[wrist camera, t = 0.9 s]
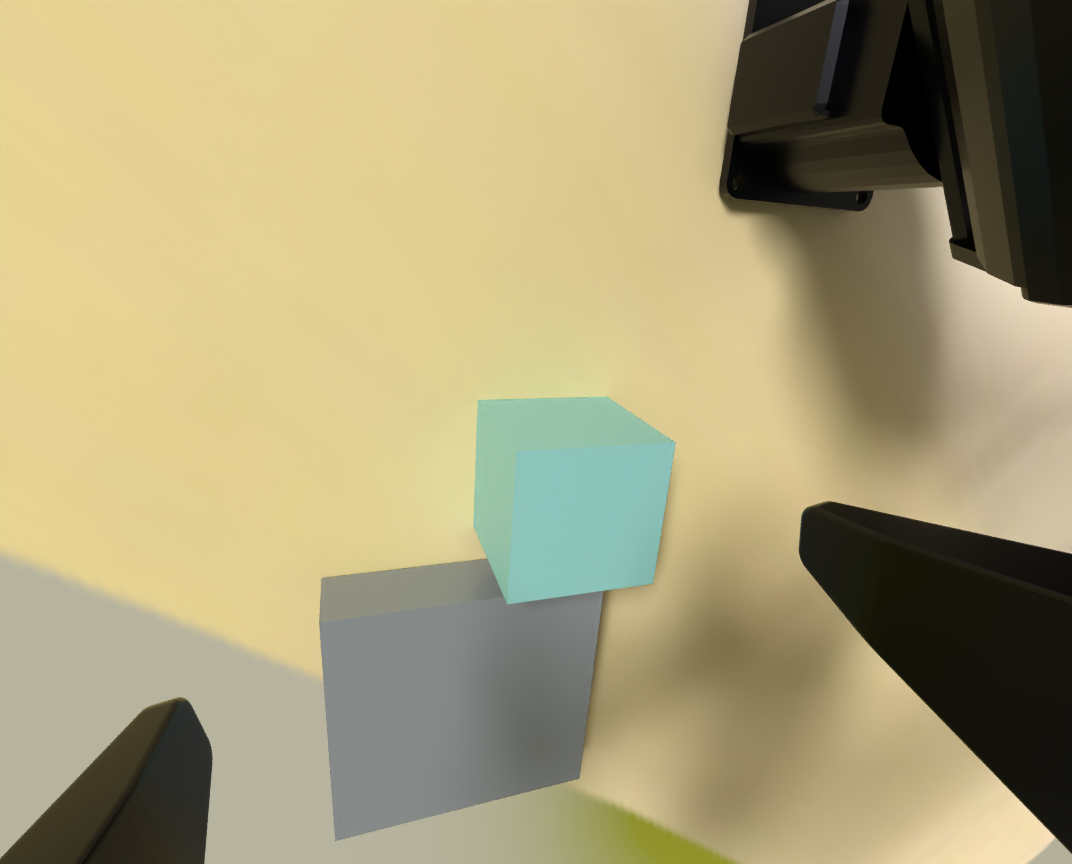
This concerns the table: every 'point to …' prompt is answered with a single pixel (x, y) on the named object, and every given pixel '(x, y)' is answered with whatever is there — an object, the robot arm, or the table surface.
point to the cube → (568, 495)
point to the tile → (449, 691)
